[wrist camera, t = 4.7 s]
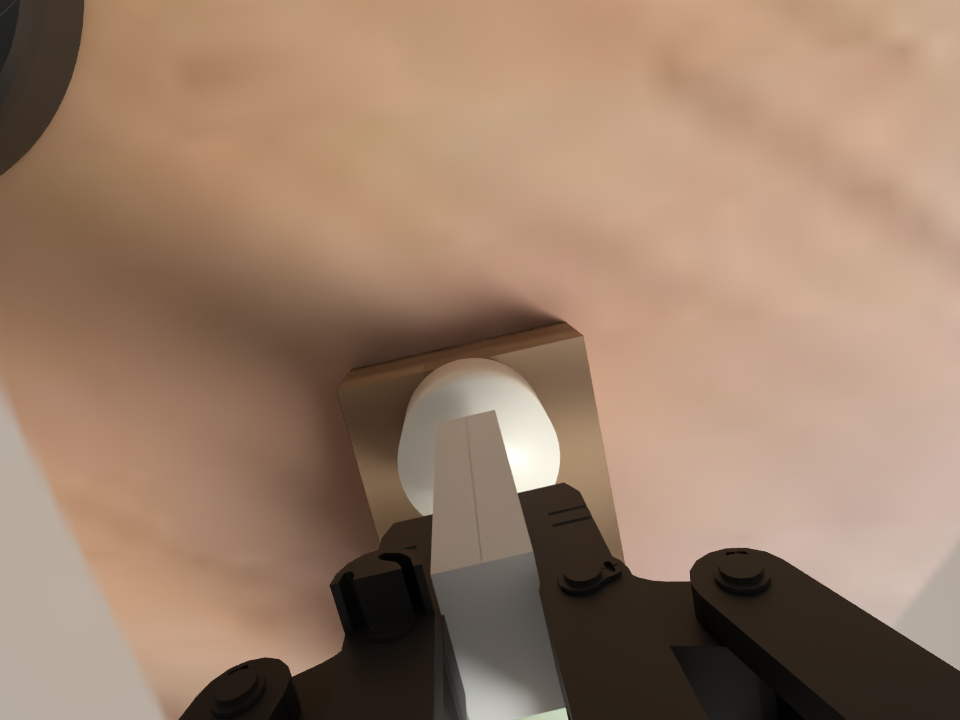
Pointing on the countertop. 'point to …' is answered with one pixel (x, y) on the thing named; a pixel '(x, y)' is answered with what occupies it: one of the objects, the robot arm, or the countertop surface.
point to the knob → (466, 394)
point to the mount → (535, 356)
